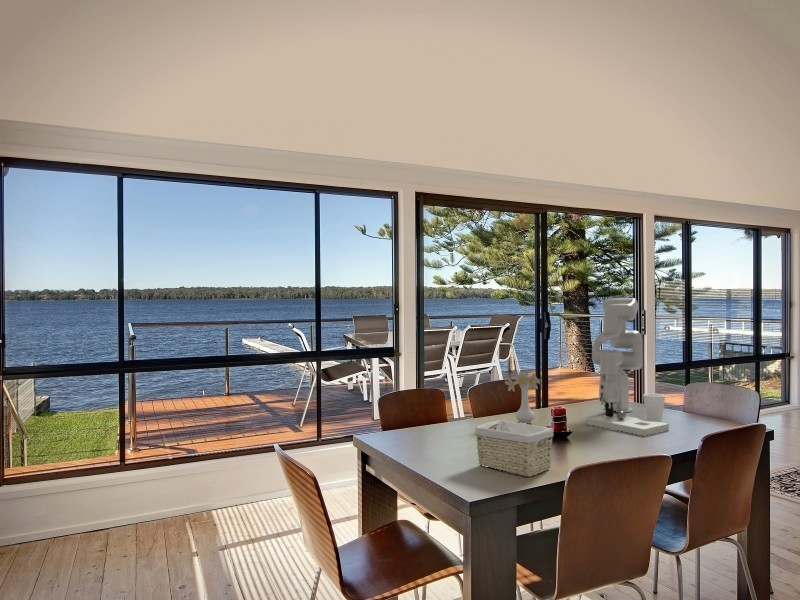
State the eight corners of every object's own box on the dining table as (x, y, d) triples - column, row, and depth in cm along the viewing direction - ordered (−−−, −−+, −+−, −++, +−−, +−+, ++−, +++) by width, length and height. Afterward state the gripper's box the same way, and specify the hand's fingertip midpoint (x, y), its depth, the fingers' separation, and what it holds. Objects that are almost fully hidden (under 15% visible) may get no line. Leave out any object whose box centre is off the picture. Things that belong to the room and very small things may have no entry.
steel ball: (614, 419, 262) (614, 411, 262) (620, 418, 264) (619, 410, 264) (622, 421, 258) (622, 412, 258) (627, 419, 260) (627, 411, 260)
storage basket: (473, 466, 203) (472, 425, 203) (500, 457, 214) (499, 418, 214) (529, 480, 185) (528, 435, 185) (556, 469, 196) (555, 427, 197)
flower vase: (502, 423, 271) (500, 372, 272) (527, 418, 282) (526, 369, 283) (522, 428, 261) (521, 374, 261) (548, 422, 272) (547, 371, 272)
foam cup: (668, 424, 264) (668, 396, 264) (649, 424, 264) (648, 396, 264) (660, 419, 273) (659, 393, 273) (640, 420, 273) (640, 393, 273)
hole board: (587, 424, 266) (587, 418, 266) (611, 419, 276) (611, 413, 276) (644, 436, 241) (644, 429, 241) (668, 430, 251) (668, 423, 251)
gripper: (605, 380, 259) (606, 419, 259) (625, 377, 267) (626, 415, 267) (591, 378, 266) (592, 417, 265) (612, 375, 273) (612, 413, 273)
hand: (609, 416), depth 266 cm, fingers closed
